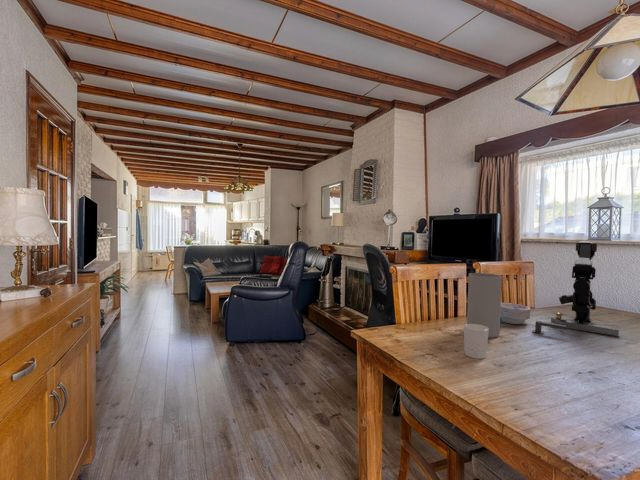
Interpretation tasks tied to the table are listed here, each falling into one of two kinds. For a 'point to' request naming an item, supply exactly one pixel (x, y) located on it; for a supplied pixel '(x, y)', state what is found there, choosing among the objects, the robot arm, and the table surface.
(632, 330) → the table surface
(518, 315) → the paper bowls
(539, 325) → the keeper
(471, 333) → the white cup
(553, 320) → the link
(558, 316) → the pintle
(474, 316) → the tall grey block
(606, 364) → the table surface
